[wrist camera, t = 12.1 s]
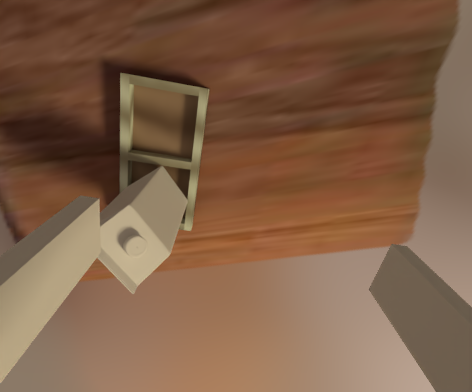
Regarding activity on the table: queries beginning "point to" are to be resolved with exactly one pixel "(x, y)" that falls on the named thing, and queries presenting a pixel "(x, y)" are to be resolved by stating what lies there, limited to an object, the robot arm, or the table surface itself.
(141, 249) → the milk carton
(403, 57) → the table surface
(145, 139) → the board
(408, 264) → the robot arm
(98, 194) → the table surface
